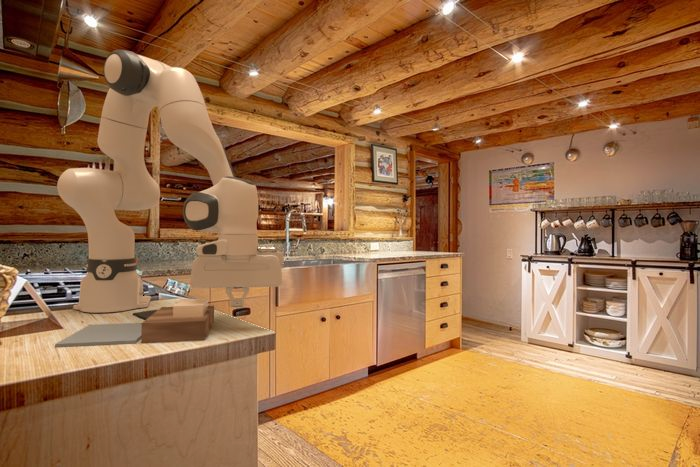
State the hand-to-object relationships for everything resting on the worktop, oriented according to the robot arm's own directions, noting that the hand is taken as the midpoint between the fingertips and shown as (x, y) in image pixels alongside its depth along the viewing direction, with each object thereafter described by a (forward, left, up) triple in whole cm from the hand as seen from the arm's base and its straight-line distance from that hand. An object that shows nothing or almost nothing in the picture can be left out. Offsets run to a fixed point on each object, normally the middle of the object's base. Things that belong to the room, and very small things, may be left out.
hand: (237, 306), depth 88 cm
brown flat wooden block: (0, -12, -5) cm, 13 cm away
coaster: (0, -10, 0) cm, 10 cm away
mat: (0, -26, -5) cm, 27 cm away
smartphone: (-16, -21, -6) cm, 27 cm away
